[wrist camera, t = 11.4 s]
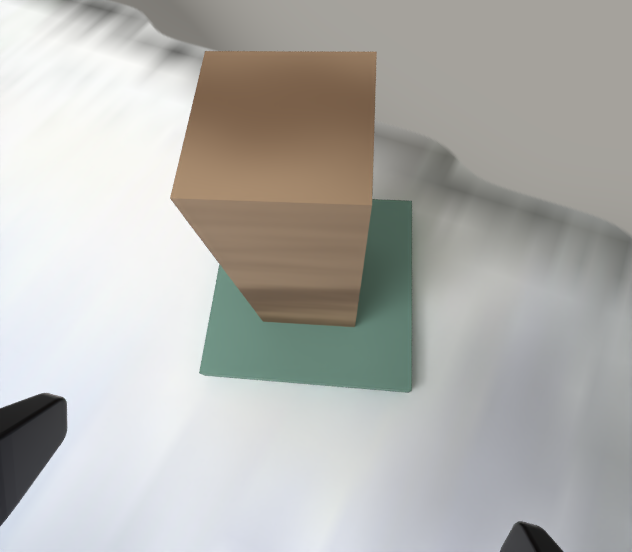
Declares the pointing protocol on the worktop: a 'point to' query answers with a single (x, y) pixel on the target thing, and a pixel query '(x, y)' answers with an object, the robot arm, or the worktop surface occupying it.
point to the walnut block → (283, 177)
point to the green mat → (327, 341)
